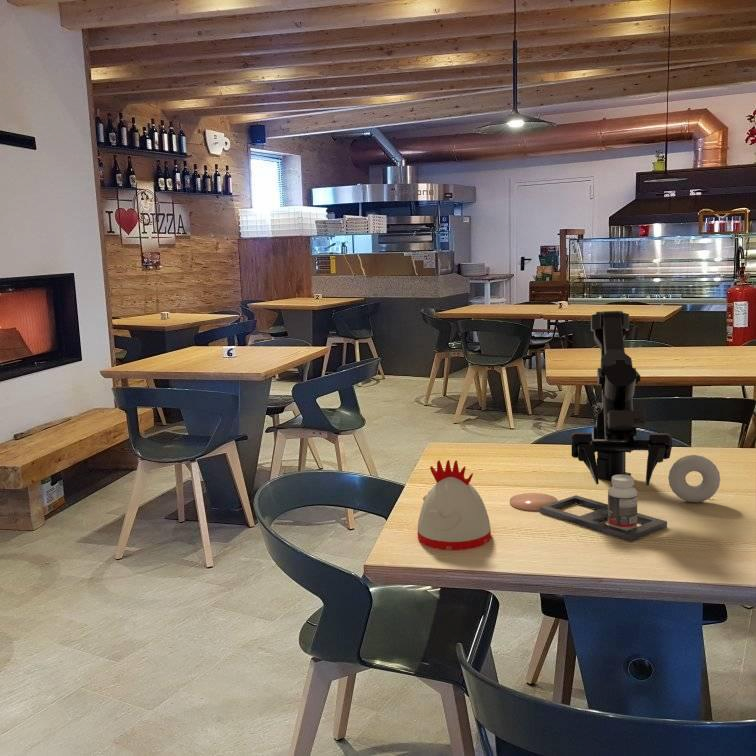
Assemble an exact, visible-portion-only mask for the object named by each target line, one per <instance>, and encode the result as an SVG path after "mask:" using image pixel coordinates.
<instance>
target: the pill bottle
mask: <svg viewBox="0 0 756 756" xmlns="http://www.w3.org/2000/svg"><path fill="white" fill-rule="evenodd" d="M610 482H611V485H612V486H611V487H609V488H608V491H607V504H608V520H607V525H610V526H613V527H616V528H619V529H623V530H626V531H628V530H630V529H633V528H635V527H638V522H637V513H638V499H639V498H638V495H639V494H638V491H637V489H636V488H635V487H634V484H635V481H634V477H633V476H632V475H631V476H629V475H622V474H620V475H614V476H612V480H611V481H610Z"/></svg>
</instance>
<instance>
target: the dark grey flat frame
mask: <svg viewBox="0 0 756 756" xmlns="http://www.w3.org/2000/svg"><path fill="white" fill-rule="evenodd" d="M574 504H576V505H579V506H583V507H586V508H589V509H593V511H590V512H588V513H585V514H582V515H577V514H574V513H571V512H567V511H564V510H561V509H563V508H565V507H568V506H572V505H574ZM539 513H540V514H543V515H546V516H549V517H552V518H556V519H558V520H562V521H565V522H568V523H570V524H574V525H576V526H577V525H578V526H580V527H584V528H587V529H589V530H593V531H595V532H599V533H602V534H605V535H608V536H611V537H613V538H617V539H620V540H624V541H627V542H630V543H632V542H634V541H637V540H639V539H642V538H644V537H647V536H649V535H651V534H654V533H656V532H660V531H662V530H664V529H667V528H668V521H667V520H663V519H660V518H657V517H653V516H650V515H646V514H643V513H640V512H637V523H639V524H641V525H637V527H635V528H633V529H630V530H627V531H626V530H623V529H619V528H616V527H613V526H610V525H608V524H605V523H604V522H608V503H604V502H601V501H598V500H594V499H591V498H587V497H583V496H579V495H576V494H575V495H571V496H569V497H567V498H564V499H559V500H558V501H557V502H554V503H551V504H548V505H545V506H541V507H540V511H539Z"/></svg>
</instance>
